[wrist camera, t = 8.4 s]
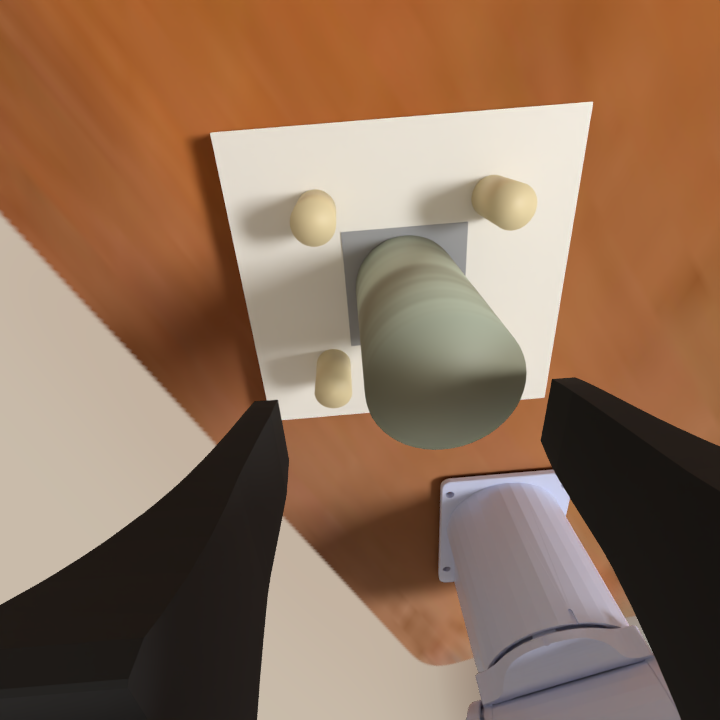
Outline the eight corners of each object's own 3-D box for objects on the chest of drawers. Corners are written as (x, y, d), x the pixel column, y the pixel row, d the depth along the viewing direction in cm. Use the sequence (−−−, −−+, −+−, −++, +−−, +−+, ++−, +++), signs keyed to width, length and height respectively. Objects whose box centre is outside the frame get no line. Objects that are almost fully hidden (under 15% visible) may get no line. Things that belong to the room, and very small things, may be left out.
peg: (454, 328, 20) (516, 443, 13) (359, 335, 20) (369, 455, 13) (459, 231, 18) (536, 306, 11) (351, 239, 18) (359, 319, 11)
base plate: (534, 385, 23) (567, 428, 20) (274, 407, 23) (263, 454, 20) (577, 103, 17) (635, 97, 13) (218, 132, 17) (189, 134, 13)
